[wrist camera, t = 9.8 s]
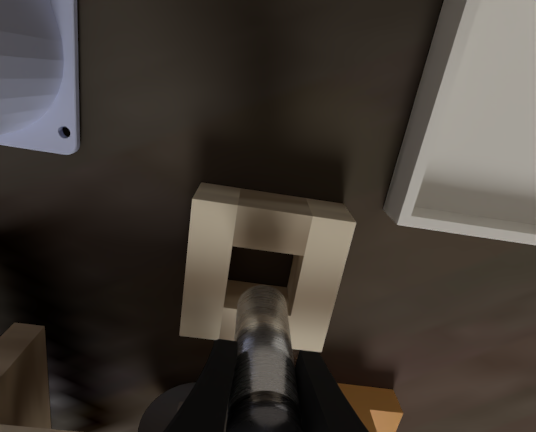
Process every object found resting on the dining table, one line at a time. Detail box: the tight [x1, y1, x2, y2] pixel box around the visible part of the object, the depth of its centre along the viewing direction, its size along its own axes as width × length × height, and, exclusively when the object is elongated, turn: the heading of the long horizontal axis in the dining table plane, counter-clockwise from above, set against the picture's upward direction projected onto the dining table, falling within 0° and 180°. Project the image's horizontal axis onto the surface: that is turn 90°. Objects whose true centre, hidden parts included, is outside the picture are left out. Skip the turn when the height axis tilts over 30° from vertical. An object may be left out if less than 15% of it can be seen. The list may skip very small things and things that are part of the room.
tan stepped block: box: [337, 383, 403, 432], centre depth 21 cm, size 8×4×4 cm, turn 80°
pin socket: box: [179, 182, 356, 352], centre depth 18 cm, size 7×7×2 cm
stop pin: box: [226, 285, 303, 432], centre depth 12 cm, size 2×2×6 cm
